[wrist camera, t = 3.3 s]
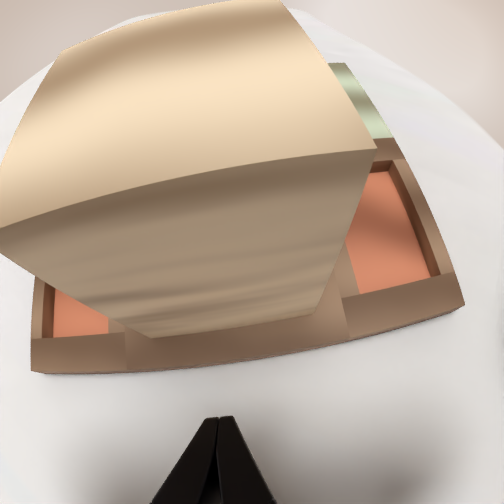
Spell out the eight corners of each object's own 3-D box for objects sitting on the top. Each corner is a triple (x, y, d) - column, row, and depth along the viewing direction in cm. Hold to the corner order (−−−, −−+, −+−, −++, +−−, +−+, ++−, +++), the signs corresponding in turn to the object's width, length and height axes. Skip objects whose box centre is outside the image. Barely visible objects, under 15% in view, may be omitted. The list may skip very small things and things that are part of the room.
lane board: (452, 311, 15) (465, 304, 14) (45, 373, 15) (30, 370, 14) (343, 75, 25) (344, 62, 23) (80, 126, 25) (74, 115, 23)
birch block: (313, 313, 15) (377, 148, 5) (151, 338, 15) (-23, 236, 5) (281, 179, 18) (276, -4, 8) (148, 204, 18) (62, 50, 8)
